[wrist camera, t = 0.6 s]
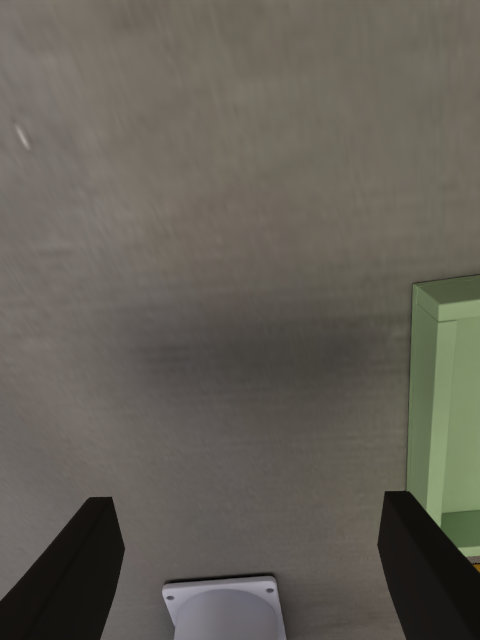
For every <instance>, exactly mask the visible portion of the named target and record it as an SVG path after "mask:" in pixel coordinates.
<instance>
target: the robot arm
mask: <svg viewBox="0 0 480 640" xmlns="http://www.w3.org/2000/svg"><path fill="white" fill-rule="evenodd" d="M377 546H378V550H379V554H380V558H381V562H382V566H383V570H384V574H385V578H386V581H387V585H388V589H389V592H390V595H391V598H392V601H393V603H394V606H395V609H396V612H397V615H398V617H399V620H400V623H401V626H402V629H403V631H404V634H405V637H406V640H480V572H479V571H478V570H477V569H476V568H475V567H474V566H473V565H472V563H471V562H470V561H469V560H468V559H467V558H466V557H465V556H464V555H463V554H462V552H461V551H460V550H459V549H458V548H457V547H456V546H455V544H454V543H453V542H452V541H451V540H450V539H449V537H448V536H447V535H446V534H445V533H444V532H443V530H442V529H441V528H440V527H439V526H438V525H437V523H436V522H435V521H434V520H433V519H432V517H431V516H430V515H429V514H428V513H427V511H426V510H425V509H424V508H423V507H422V505H421V504H420V503H419V502H418V500H417V499H416V498H415V497H414V496H413V494H412V493H410V492H409V491H385V495H384V502H383V509H382V516H381V523H380V530H379V537H378V544H377ZM124 551H125V547H124V543H123V539H122V535H121V531H120V527H119V523H118V519H117V515H116V511H115V507H114V503H113V499H112V497H89V498H88V499H87V500H86V502H85V503H84V504H83V505H82V506H81V508H80V509H79V510H78V511H77V512H76V514H75V515H74V516H73V517H72V519H71V520H70V521H69V522H68V523H67V525H66V526H65V527H64V528H63V530H62V531H61V532H60V533H59V534H58V536H57V537H56V538H55V539H54V540H53V542H52V543H51V544H50V545H49V546H48V548H47V549H46V550H45V551H44V552H43V553H42V555H41V556H40V557H39V558H38V559H37V560H36V562H35V563H34V564H33V565H32V566H31V567H30V569H29V570H28V571H27V572H26V573H25V574H24V576H23V577H22V578H21V579H20V580H19V581H18V582H17V583H16V585H15V586H14V587H13V588H12V589H11V590H10V591H9V592H8V593H7V594H6V596H5V597H4V598H3V599H2V600H1V601H0V640H100V638H101V635H102V632H103V629H104V626H105V623H106V620H107V617H108V614H109V611H110V608H111V605H112V602H113V598H114V595H115V592H116V588H117V583H118V579H119V575H120V570H121V565H122V561H123V556H124ZM162 594H163V597H164V600H165V602H166V605H167V608H168V610H169V613H170V616H171V618H172V621H173V624H174V626H175V635H174V640H287V639H286V633H285V628H284V622H283V617H282V611H281V606H280V600H279V594H278V589H277V583H276V579H275V578H274V577H272V576H260V577H247V578H234V579H221V580H208V581H196V582H183V583H170V584H166V585H164V586H163V589H162Z"/></svg>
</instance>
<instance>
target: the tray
mask: <svg viewBox="0 0 480 640" xmlns="http://www.w3.org/2000/svg"><path fill="white" fill-rule="evenodd" d="M406 491H409V492H410V493H412V494H413V496H414V497H415V498H416V499H417V500H418V502H419V503H420V504H421V505H422V507H423V508H424V509H425V510H426V511H427V513H428V514H429V515H430V516H431V517H432V519H433V520H434V521H435V522H436V523H437V525H438V526H439V527H440V528H441V529H442V530H443V532H444V533H445V534H446V535H447V536H448V537H449V539H450V540H451V541H452V542H453V543H454V544H455V546H456V547H457V548H458V549H459V550H460V551H461V552H462V554H463V555H464V556H465V557H468V556H480V275H474V276H467V277H459V278H452V279H445V280H437V281H430V282H422V283H415V284H413V298H412V330H411V362H410V394H409V426H408V458H407V490H406Z"/></svg>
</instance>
